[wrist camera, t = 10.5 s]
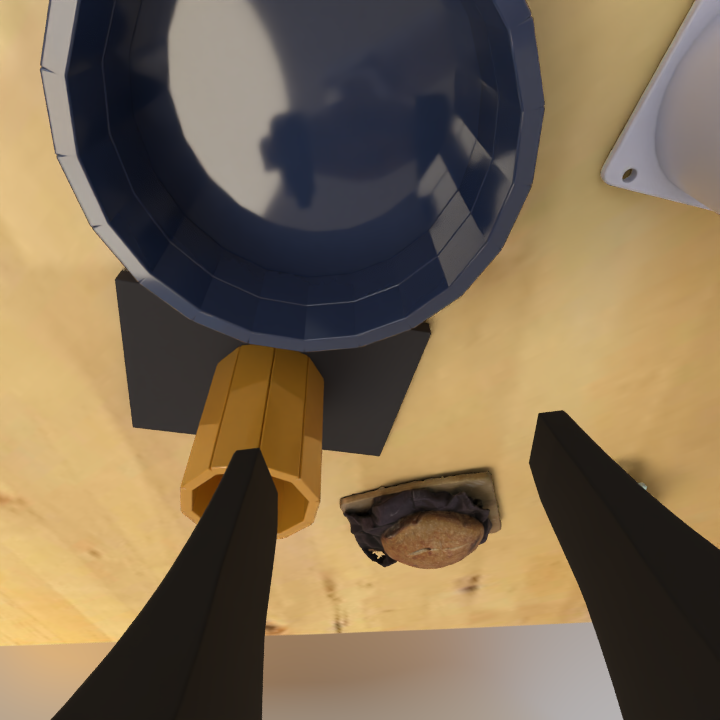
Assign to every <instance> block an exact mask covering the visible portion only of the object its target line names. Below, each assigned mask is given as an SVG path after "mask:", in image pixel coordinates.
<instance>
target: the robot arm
mask: <svg viewBox="0 0 720 720" xmlns="http://www.w3.org/2000/svg"><path fill="white" fill-rule="evenodd" d="M629 169H632V172H631V174H630V175H629V176H628V177H627V178H625V179H622V177H623V174H624V173H625V172H626V171H627V170H629ZM601 178H602V180H603V181H604V182H605V183H607V184H609V185H611V186H615V187H619V188H623V189H627V190H631V191H635V192H639V193H643V194H647V195H651V196H655V197H659V198H663V199H667V200H671V201H675V202H679V203H683V204H687V205H691V206H695V207H699V208H703V209H707V210H711V211H714V212H715V213H717V214H718V215H720V0H695V1H694V3H693V5H692V7H691V8H690V10H689V12H688V14H687V16H686V17H685V19H684V21H683V23H682V25H681V26H680V28H679V30H678V32H677V34H676V35H675V37H674V39H673V41H672V43H671V44H670V46H669V48H668V50H667V52H666V53H665V55H664V57H663V59H662V61H661V62H660V64H659V66H658V68H657V69H656V71H655V73H654V75H653V77H652V78H651V80H650V82H649V84H648V86H647V87H646V89H645V91H644V93H643V95H642V96H641V98H640V100H639V102H638V104H637V105H636V107H635V109H634V111H633V113H632V114H631V116H630V118H629V120H628V122H627V123H626V125H625V127H624V129H623V131H622V132H621V134H620V136H619V138H618V140H617V141H616V143H615V145H614V147H613V149H612V150H611V152H610V154H609V156H608V158H607V159H606V161H605V163H604V165H603V167H602V169H601ZM529 464H530V468H531V471H532V474H533V478H534V481H535V484H536V487H537V490H538V494H539V497H540V500H541V502H542V504H543V507H544V509H545V511H546V514H547V516H548V518H549V520H550V523H551V525H552V527H553V529H554V532H555V534H556V536H557V538H558V540H559V543H560V545H561V547H562V549H563V552H564V554H565V556H566V558H567V560H568V563H569V565H570V567H571V569H572V571H573V574H574V576H575V578H576V580H577V583H578V585H579V587H580V590H581V592H582V595H583V597H584V600H585V602H586V605H587V608H588V611H589V614H590V617H591V620H592V623H593V626H594V629H595V631H596V634H597V637H598V640H599V643H600V646H601V649H602V652H603V656H604V658H605V662H606V664H607V668H608V671H609V674H610V677H611V680H612V683H613V686H614V690H615V693H616V696H617V700H618V703H619V706H620V710H621V713H622V716H623V719H624V720H720V549H718V548H717V547H715V546H714V545H713V544H711V543H710V542H709V541H708V540H706V539H705V538H704V537H702V536H701V535H700V534H698V533H697V532H696V531H694V530H693V529H692V528H691V527H689V526H688V525H687V524H685V523H684V522H683V521H682V520H681V519H679V518H678V517H677V516H676V515H674V514H673V513H672V512H671V511H670V510H668V509H667V508H666V507H665V506H664V505H662V504H661V503H660V502H659V501H658V500H657V499H655V498H654V497H653V496H652V495H651V494H650V493H649V492H647V491H646V490H645V489H644V488H643V487H642V486H641V485H639V484H638V483H637V482H636V481H635V480H634V479H633V478H632V477H631V476H630V475H629V474H628V473H626V472H625V471H624V470H623V469H622V468H621V467H620V466H619V465H618V464H617V463H616V462H615V461H614V460H613V459H612V458H611V457H609V456H608V455H607V454H606V453H605V452H604V451H603V450H602V449H601V448H600V447H599V446H598V445H597V444H596V443H595V442H594V441H593V440H592V439H591V438H590V437H589V436H588V435H587V434H586V433H585V432H584V431H583V430H582V429H581V428H580V427H579V426H578V425H577V423H576V422H575V421H574V420H573V419H572V418H571V417H570V416H569V415H568V414H567V413H566V412H564V411H563V410H562V411H553V412H545V413H539V414H538V419H537V425H536V430H535V435H534V440H533V445H532V450H531V455H530V460H529ZM277 527H278V492H277V489H276V487H275V484H274V482H273V479H272V477H271V474H270V472H269V469H268V467H267V465H266V462H265V460H264V457H263V455H262V452H261V450H260V448H252V449H243V450H236V452H235V453H234V454H233V456H232V458H231V460H230V462H229V464H228V466H227V469H226V471H225V473H224V475H223V477H222V479H221V481H220V483H219V485H218V487H217V489H216V491H215V492H214V494H213V496H212V498H211V500H210V502H209V504H208V506H207V508H206V509H205V511H204V513H203V515H202V517H201V518H200V520H199V522H198V524H197V526H196V527H195V529H194V531H193V533H192V534H191V536H190V538H189V539H188V541H187V543H186V544H185V546H184V548H183V549H182V551H181V552H180V554H179V556H178V557H177V559H176V561H175V562H174V564H173V565H172V567H171V569H170V570H169V572H168V573H167V575H166V576H165V578H164V579H163V581H162V582H161V584H160V585H159V587H158V588H157V590H156V591H155V592H154V594H153V595H152V597H151V598H150V599H149V601H148V602H147V604H146V605H145V606H144V608H143V609H142V611H141V612H140V613H139V615H138V616H137V617H136V619H135V620H134V621H133V622H132V624H131V625H130V626H129V628H128V629H127V630H126V632H125V633H124V634H123V636H122V637H121V638H120V640H119V641H118V642H117V643H116V645H115V646H114V647H113V648H112V650H111V651H110V652H109V653H108V655H107V656H106V657H105V658H104V659H103V661H102V662H101V663H100V664H99V665H98V667H97V668H96V669H95V670H94V671H93V672H92V674H91V675H90V676H89V677H88V678H87V679H86V680H85V682H84V683H83V684H82V685H81V686H80V687H79V688H78V690H77V691H76V692H75V693H74V694H73V696H72V697H71V698H70V699H69V700H68V701H67V702H66V704H65V705H64V706H63V707H62V708H61V709H60V710H59V711H58V712H57V713H56V715H55V716H54V717H53V718H52V719H51V720H262V692H263V661H264V637H265V626H266V616H267V608H268V601H269V593H270V585H271V578H272V570H273V563H274V555H275V547H276V539H277Z"/></svg>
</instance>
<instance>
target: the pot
mask: <svg viewBox="0 0 720 720" xmlns="http://www.w3.org/2000/svg"><path fill="white" fill-rule="evenodd" d="M40 65H41V68H40V72H41V78H42V83H43V89H44V94H45V100H46V105H47V111H48V117H49V122H50V128H51V133H52V139H53V144H54V150H55V154H56V155H57V159H58V161H59V163H60V165H61V167H62V169H63V171H64V173H65V175H66V177H67V179H68V182H69V184H70V186H71V188H72V190H73V192H74V194H75V196H76V198H77V200H78V202H79V204H80V206H81V208H82V210H83V212H84V214H85V216H86V218H87V220H88V222H89V224H90V226H91V227H92V229H93V230H94V231H95V233H96V234H97V235H98V236H99V237H100V238H101V240H102V241H103V242H104V243H105V244H106V245H107V247H108V248H109V249H110V250H111V251H112V252H113V254H114V255H115V256H116V257H117V258H118V259H119V261H120V262H121V263H122V264H123V265H124V266H125V268H126V269H127V270H128V271H129V272H130V273H131V275H132V276H133V277H134V278H135V279H136V280H137V281H138V282H139V283H140V284H141V285H142V286H144V287H145V288H146V289H148V290H149V291H151V292H152V293H153V294H155V295H156V296H158V297H159V298H160V299H162V300H163V301H164V302H166V303H167V304H169V305H170V306H171V307H173V308H174V309H176V310H177V311H178V312H180V313H181V314H183V315H184V316H185V317H187V318H188V319H190V320H193V321H194V322H196V323H198V324H201V325H203V326H205V327H208V328H210V329H213V330H215V331H218V332H220V333H223V334H225V335H227V336H230V337H232V338H235V339H237V340H240V341H242V342H245V343H249V344H252V345H259V346H265V347H272V348H278V349H285V350H291V351H298V352H304V351H305V352H316V351H327V350H339V349H350V348H358V347H363V346H366V345H369V344H371V343H374V342H377V341H380V340H383V339H386V338H389V337H391V336H394V335H397V334H400V333H403V332H406V331H409V330H411V329H412V328H415V327H416V326H418V325H419V324H421V323H422V322H424V321H425V320H427V319H428V318H430V317H431V316H433V315H434V314H436V313H437V312H439V311H440V310H442V309H443V308H445V307H446V306H448V305H449V304H451V303H452V302H454V301H455V300H457V299H458V298H459V297H460V296H462V295H463V294H464V293H465V292H466V290H467V289H468V288H469V287H470V286H471V285H472V283H473V282H474V281H475V280H476V279H477V278H478V277H479V275H480V274H481V273H482V272H483V271H484V270H485V268H486V267H487V266H488V265H489V264H490V263H491V262H492V260H493V259H494V258H495V257H496V256H497V255H498V254H499V252H500V251H501V250H502V249H501V248H503V246H504V244H505V242H506V240H507V238H508V236H509V234H510V231H511V229H512V227H513V225H514V223H515V221H516V219H517V217H518V215H519V212H520V210H521V208H522V206H523V204H524V202H525V200H526V198H527V196H528V193H529V191H530V189H531V186H532V183H533V178H534V172H535V166H536V159H537V153H538V147H539V141H540V135H541V128H542V122H543V116H544V110H545V108H544V105H545V101H544V93H543V86H542V79H541V71H540V64H539V57H538V49H537V42H536V35H535V27H534V20H533V17H532V16H531V10H530V8H529V6H528V4H527V2H526V0H49V6H48V13H47V20H46V27H45V34H44V41H43V48H42V55H41V62H40Z"/></svg>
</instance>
